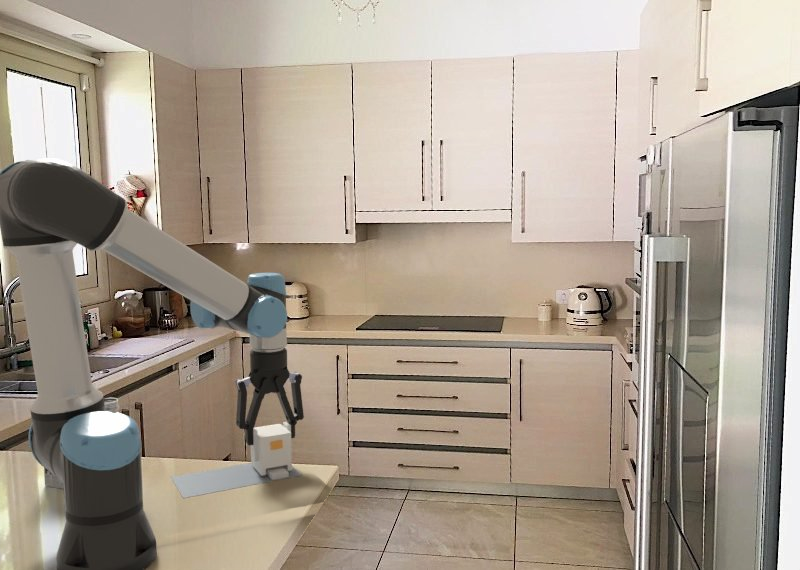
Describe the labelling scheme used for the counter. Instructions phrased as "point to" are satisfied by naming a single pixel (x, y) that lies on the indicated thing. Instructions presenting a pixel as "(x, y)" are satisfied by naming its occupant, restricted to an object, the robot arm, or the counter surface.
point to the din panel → (228, 479)
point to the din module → (273, 448)
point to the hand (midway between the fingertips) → (271, 456)
